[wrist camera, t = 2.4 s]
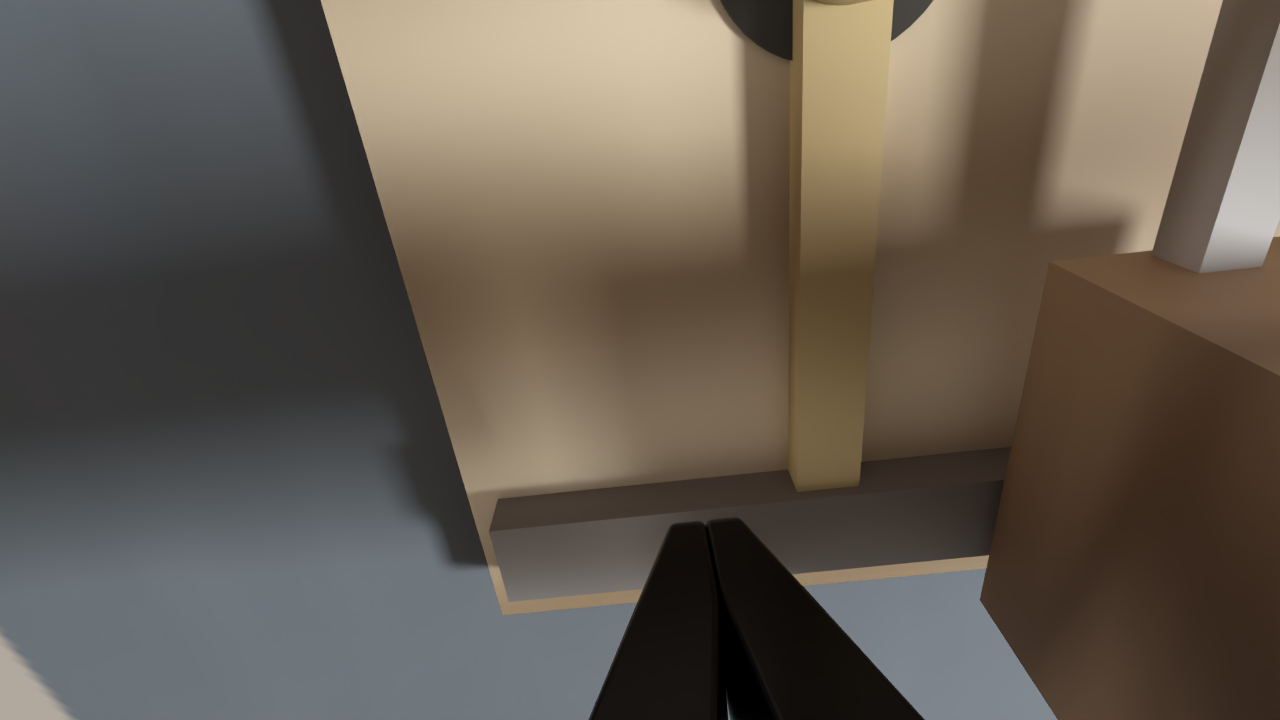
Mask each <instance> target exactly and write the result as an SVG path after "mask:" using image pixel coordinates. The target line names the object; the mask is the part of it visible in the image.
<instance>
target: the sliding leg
mask: <svg viewBox="0 0 1280 720" xmlns="http://www.w3.org/2000/svg"><path fill="white" fill-rule="evenodd" d="M1279 220H1280V0H1223V2H1222V5H1221V9H1220V12H1219V16H1218V19H1217V23H1216V27H1215V30H1214V34H1213V37H1212V41H1211V44H1210V48H1209V51H1208V55H1207V58H1206V62H1205V66H1204V69H1203V73H1202V76H1201V80H1200V83H1199V87H1198V90H1197V94H1196V98H1195V101H1194V105H1193V108H1192V112H1191V115H1190V119H1189V122H1188V126H1187V130H1186V133H1185V137H1184V140H1183V144H1182V147H1181V151H1180V154H1179V158H1178V162H1177V165H1176V169H1175V172H1174V176H1173V179H1172V183H1171V186H1170V190H1169V193H1168V197H1167V201H1166V204H1165V208H1164V211H1163V215H1162V218H1161V222H1160V225H1159V229H1158V233H1157V236H1156V240H1155V243H1154V247H1153V250H1151V251H1141V252H1132V253H1123V254H1114V255H1105V256H1095V257H1086V258H1077V259H1068V260H1059V261H1050V262H1049V265H1048V270H1047V275H1046V280H1045V284H1044V289H1043V294H1042V299H1041V304H1040V309H1039V314H1038V319H1037V324H1036V328H1035V333H1034V338H1033V343H1032V348H1031V353H1030V358H1029V363H1028V368H1027V372H1026V377H1025V382H1024V387H1023V392H1022V397H1021V402H1020V407H1019V412H1018V416H1017V421H1016V426H1015V431H1014V436H1013V441H1012V446H1011V451H1010V456H1009V461H1008V465H1007V470H1006V475H1005V480H1004V485H1003V490H1002V495H1001V500H1000V505H999V509H998V514H997V519H996V524H995V529H994V534H993V539H992V544H991V549H990V553H989V558H988V563H987V568H986V573H985V578H984V583H983V588H982V593H981V597H980V601H981V602H982V604H983V605H984V607H985V609H986V610H987V612H988V613H989V615H990V616H991V618H992V619H993V621H994V622H995V624H996V625H997V627H998V628H999V630H1000V632H1001V633H1002V635H1003V636H1004V638H1005V639H1006V641H1007V642H1008V644H1009V645H1010V647H1011V648H1012V650H1013V652H1014V653H1015V655H1016V656H1017V658H1018V659H1019V661H1020V662H1021V664H1022V665H1023V667H1024V668H1025V670H1026V672H1027V673H1028V675H1029V676H1030V678H1031V679H1032V681H1033V682H1034V684H1035V685H1036V687H1037V688H1038V690H1039V691H1040V693H1041V695H1042V696H1043V698H1044V699H1045V701H1046V702H1047V704H1048V705H1049V707H1050V708H1051V710H1052V711H1053V713H1054V715H1055V716H1056V718H1057V719H1058V720H1280V236H1279V237H1273V236H1274V233H1275V231H1276V228H1277V225H1278V222H1279Z"/></svg>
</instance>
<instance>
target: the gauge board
mask: <svg viewBox="0 0 1280 720" xmlns="http://www.w3.org/2000/svg"><path fill="white" fill-rule="evenodd" d="M1222 2H1223V0H321V3H322V7H323V10H324V13H325V17H326V20H327V24H328V27H329V30H330V34H331V37H332V40H333V44H334V47H335V51H336V54H337V57H338V61H339V64H340V67H341V71H342V74H343V78H344V81H345V84H346V88H347V91H348V94H349V98H350V101H351V105H352V108H353V111H354V115H355V118H356V121H357V125H358V128H359V132H360V135H361V138H362V142H363V145H364V149H365V152H366V155H367V159H368V162H369V165H370V169H371V172H372V176H373V179H374V182H375V186H376V189H377V192H378V196H379V199H380V203H381V206H382V209H383V213H384V216H385V219H386V223H387V226H388V230H389V233H390V236H391V240H392V243H393V246H394V250H395V253H396V257H397V260H398V263H399V267H400V270H401V273H402V277H403V280H404V284H405V287H406V290H407V294H408V297H409V300H410V304H411V307H412V311H413V314H414V317H415V321H416V324H417V327H418V331H419V334H420V338H421V341H422V344H423V348H424V351H425V355H426V358H427V361H428V365H429V368H430V371H431V375H432V378H433V382H434V385H435V388H436V392H437V395H438V398H439V402H440V405H441V409H442V412H443V415H444V419H445V422H446V425H447V429H448V432H449V436H450V439H451V442H452V446H453V449H454V452H455V456H456V459H457V463H458V466H459V469H460V473H461V476H462V479H463V483H464V486H465V490H466V493H467V496H468V500H469V503H470V506H471V510H472V513H473V517H474V520H475V523H476V527H477V530H478V533H479V537H480V540H481V544H482V547H483V550H484V554H485V557H486V561H487V564H488V567H489V571H490V574H491V577H492V581H493V584H494V588H495V591H496V594H497V598H498V601H499V604H500V608H501V611H502V615H510V614H521V613H531V612H541V611H552V610H562V609H572V608H583V607H593V606H603V605H613V604H624V603H634V602H638V600H639V597H640V595H641V593H642V590H643V588H644V585H645V583H646V581H647V578H648V576H649V573H650V571H651V568H652V566H653V564H654V561H655V559H656V556H657V554H658V552H659V549H660V547H661V544H662V542H663V540H664V537H665V535H666V532H667V530H668V528H669V527H670V525H671V524H673V523H678V522H688V521H697V520H699V521H702V522H703V523H704V524H705V527H706V523H707V521H708V520H710V519H717V518H727V517H738V518H740V519H742V520H743V521H744V522H745V523H746V524H747V525H748V527H749V528H750V529H751V530H752V531H753V532H754V533H755V534H756V535H757V536H758V537H759V539H760V540H761V541H762V542H763V543H764V544H765V545H766V546H767V547H768V548H769V550H770V551H771V552H772V553H773V554H774V555H775V556H776V557H777V558H778V559H779V561H780V562H781V563H782V564H783V565H784V566H785V567H786V568H787V569H788V570H789V572H790V573H791V574H792V575H793V576H794V577H795V578H796V579H797V580H798V581H799V582H800V584H801V585H802V586H809V585H820V584H830V583H840V582H851V581H861V580H871V579H882V578H892V577H902V576H913V575H923V574H933V573H943V572H954V571H964V570H974V569H985V568H987V563H988V558H989V553H990V549H991V544H992V539H993V534H994V529H995V524H996V519H997V514H998V509H999V505H1000V500H1001V495H1002V490H1003V485H1004V480H1005V475H1006V470H1007V465H1008V461H1009V456H1010V451H1011V446H1012V441H1013V436H1014V431H1015V426H1016V421H1017V416H1018V412H1019V407H1020V402H1021V397H1022V392H1023V387H1024V382H1025V377H1026V372H1027V368H1028V363H1029V358H1030V353H1031V348H1032V343H1033V338H1034V333H1035V328H1036V324H1037V319H1038V314H1039V309H1040V304H1041V299H1042V294H1043V289H1044V284H1045V280H1046V275H1047V270H1048V265H1049V262H1050V261H1059V260H1068V259H1077V258H1086V257H1095V256H1105V255H1114V254H1123V253H1132V252H1141V251H1151V250H1153V247H1154V243H1155V240H1156V236H1157V233H1158V229H1159V225H1160V222H1161V218H1162V215H1163V211H1164V208H1165V204H1166V201H1167V197H1168V193H1169V190H1170V186H1171V183H1172V179H1173V176H1174V172H1175V169H1176V165H1177V162H1178V158H1179V154H1180V151H1181V147H1182V144H1183V140H1184V137H1185V133H1186V130H1187V126H1188V122H1189V119H1190V115H1191V112H1192V108H1193V105H1194V101H1195V98H1196V94H1197V90H1198V87H1199V83H1200V80H1201V76H1202V73H1203V69H1204V66H1205V62H1206V58H1207V55H1208V51H1209V48H1210V44H1211V41H1212V37H1213V34H1214V30H1215V27H1216V23H1217V19H1218V16H1219V12H1220V9H1221V5H1222ZM1279 236H1280V220H1279V222H1278V225H1277V228H1276V231H1275V233H1274V236H1273V237H1279Z"/></svg>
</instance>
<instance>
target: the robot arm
mask: <svg viewBox="0 0 1280 720" xmlns="http://www.w3.org/2000/svg"><path fill="white" fill-rule="evenodd" d="M727 703H728V709H729V715H730V720H924V719H923V717H922V716H921V715H920V714H919V713H918V712H917V711H916V710H915V709H914V708H913V706H912V705H911V704H910V703H909V702H908V701H907V700H906V699H905V698H904V697H903V695H902V694H901V693H900V692H899V691H898V690H897V689H896V688H895V687H894V686H893V685H892V683H891V682H890V681H889V680H888V679H887V678H886V677H885V676H884V675H883V674H882V672H881V671H880V670H879V669H878V668H877V667H876V666H875V665H874V664H873V663H872V661H871V660H870V659H869V658H868V657H867V656H866V655H865V654H864V653H863V652H862V651H861V649H860V648H859V647H858V646H857V645H856V644H855V643H854V642H853V641H852V640H851V638H850V637H849V636H848V635H847V634H846V633H845V632H844V631H843V630H842V629H841V627H840V626H839V625H838V624H837V623H836V622H835V621H834V620H833V619H832V618H831V616H830V615H829V614H828V613H827V612H826V611H825V610H824V609H823V608H822V607H821V606H820V604H819V603H818V602H817V601H816V600H815V599H814V598H813V597H812V596H811V595H810V593H809V592H808V591H807V590H806V589H805V588H804V587H803V586H802V585H801V584H800V582H799V581H798V580H797V579H796V578H795V577H794V576H793V575H792V574H791V573H790V572H789V570H788V569H787V568H786V567H785V566H784V565H783V564H782V563H781V562H780V561H779V559H778V558H777V557H776V556H775V555H774V554H773V553H772V552H771V551H770V550H769V548H768V547H767V546H766V545H765V544H764V543H763V542H762V541H761V540H760V539H759V537H758V536H757V535H756V534H755V533H754V532H753V531H752V530H751V529H750V528H749V527H748V525H747V524H746V523H745V522H744V521H743V520H742V519H740V518H738V517H727V518H717V519H710V520H708V521H707V523H706V527H705V524H704V523H703V522H702V521H699V520H697V521H688V522H678V523H673V524H671V525H670V527H669V528H668V530H667V532H666V535H665V537H664V540H663V542H662V544H661V547H660V549H659V552H658V554H657V556H656V559H655V561H654V564H653V566H652V568H651V571H650V573H649V576H648V578H647V581H646V583H645V585H644V588H643V590H642V593H641V595H640V597H639V600H638V602H637V605H636V607H635V609H634V612H633V614H632V617H631V619H630V621H629V624H628V626H627V629H626V631H625V633H624V636H623V638H622V641H621V643H620V645H619V648H618V650H617V653H616V655H615V657H614V660H613V662H612V665H611V667H610V669H609V672H608V674H607V677H606V679H605V681H604V684H603V686H602V689H601V691H600V694H599V696H598V698H597V701H596V703H595V706H594V708H593V710H592V713H591V715H590V718H589V720H728V710H727Z"/></svg>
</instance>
